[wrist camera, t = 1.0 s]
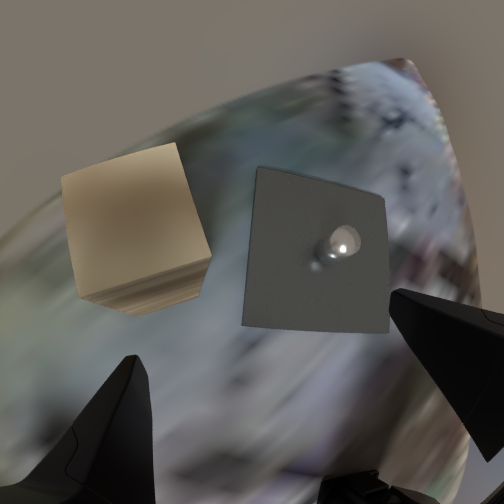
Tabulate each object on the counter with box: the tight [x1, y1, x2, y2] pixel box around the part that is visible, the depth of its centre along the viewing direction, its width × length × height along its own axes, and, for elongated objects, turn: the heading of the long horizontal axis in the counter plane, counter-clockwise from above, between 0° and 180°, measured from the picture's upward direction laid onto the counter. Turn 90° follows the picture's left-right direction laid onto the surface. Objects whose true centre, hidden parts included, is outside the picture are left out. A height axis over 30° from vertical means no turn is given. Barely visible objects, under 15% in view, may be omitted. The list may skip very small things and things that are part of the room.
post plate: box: [242, 167, 390, 333], centre depth 24 cm, size 14×14×4 cm
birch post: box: [61, 142, 212, 316], centre depth 16 cm, size 5×5×13 cm
